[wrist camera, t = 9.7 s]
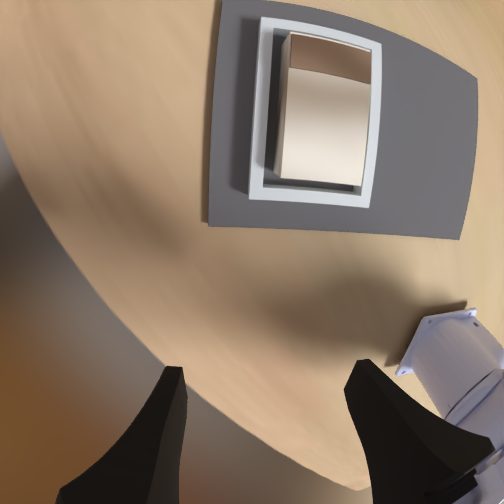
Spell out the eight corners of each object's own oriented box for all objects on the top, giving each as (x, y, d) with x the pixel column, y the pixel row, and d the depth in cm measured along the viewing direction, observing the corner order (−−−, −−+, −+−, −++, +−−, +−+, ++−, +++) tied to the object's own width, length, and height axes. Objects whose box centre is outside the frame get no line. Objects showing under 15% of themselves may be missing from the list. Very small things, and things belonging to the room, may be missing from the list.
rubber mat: (473, 78, 13) (477, 78, 12) (455, 238, 19) (459, 240, 19) (223, 1, 11) (223, -2, 10) (208, 223, 17) (208, 226, 16)
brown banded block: (343, 178, 16) (362, 186, 13) (273, 171, 15) (281, 178, 13) (352, 59, 13) (371, 49, 10) (281, 45, 12) (291, 30, 10)
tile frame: (372, 48, 12) (381, 43, 11) (360, 203, 17) (368, 208, 16) (259, 24, 12) (261, 16, 10) (247, 194, 16) (249, 199, 15)
